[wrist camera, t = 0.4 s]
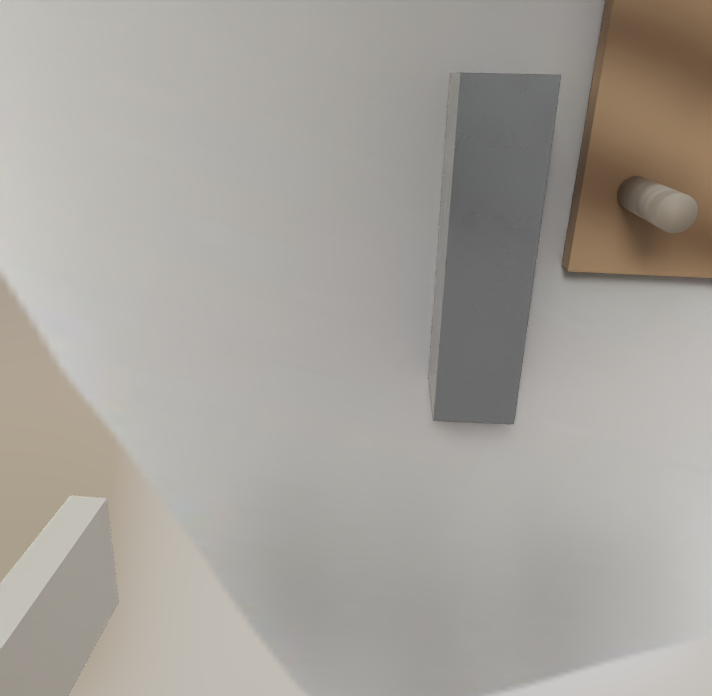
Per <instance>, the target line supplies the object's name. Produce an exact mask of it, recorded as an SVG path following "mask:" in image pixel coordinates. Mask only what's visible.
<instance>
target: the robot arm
mask: <svg viewBox="0 0 712 696" xmlns="http://www.w3.org/2000/svg"><path fill="white" fill-rule="evenodd" d="M118 602H119V599H118V590H117V581H116V573H115V564H114V556H113V547H112V539H111V531H110V521H109V513H108V504H107V499H106V498H97V497H84V496H69V498H68V499H67V500H66V501H65V503H64V504H63V505H62V506H61V508H60V509H59V510H58V511H57V513H56V514H55V515H54V516H53V518H52V519H51V520H50V521H49V523H48V524H47V525H46V526H45V528H44V529H43V530H42V531H41V533H40V534H39V535H38V536H37V538H36V539H35V540H34V541H33V543H32V544H31V545H30V546H29V548H28V549H27V550H26V551H25V553H24V554H23V555H22V557H21V558H20V559H19V560H18V562H17V563H16V564H15V565H14V566H13V568H12V569H11V570H10V571H9V573H8V574H7V575H6V577H5V578H4V579H3V580H2V582H1V583H0V696H69V693H70V692H71V690H72V688H73V686H74V684H75V683H76V681H77V679H78V677H79V675H80V673H81V671H82V669H83V668H84V666H85V664H86V662H87V660H88V658H89V656H90V655H91V653H92V651H93V649H94V647H95V645H96V643H97V641H98V640H99V638H100V636H101V634H102V632H103V630H104V629H105V627H106V625H107V623H108V621H109V619H110V617H111V615H112V614H113V612H114V610H115V608H116V606H117V604H118Z"/></svg>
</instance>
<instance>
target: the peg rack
mask: <svg viewBox="0 0 712 696" xmlns="http://www.w3.org/2000/svg"><path fill="white" fill-rule="evenodd" d="M562 266H563V267H564V268H565V269H566V270H567V271H568V272H590V273H612V274H634V275H655V276H677V277H699V278H712V0H606V1H605V7H604V13H603V19H602V25H601V31H600V37H599V43H598V49H597V55H596V61H595V67H594V73H593V79H592V86H591V92H590V98H589V104H588V110H587V116H586V122H585V128H584V134H583V140H582V146H581V152H580V158H579V164H578V170H577V177H576V183H575V189H574V195H573V201H572V207H571V213H570V219H569V225H568V231H567V237H566V243H565V249H564V255H563V261H562Z"/></svg>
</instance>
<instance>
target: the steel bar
mask: <svg viewBox="0 0 712 696" xmlns="http://www.w3.org/2000/svg"><path fill="white" fill-rule="evenodd" d="M560 79H561V75H544V74H496V73H450V78H449V92H448V106H447V120H446V134H445V148H444V162H443V176H442V190H441V204H440V219H439V233H438V247H437V261H436V275H435V289H434V303H433V317H432V331H431V345H430V359H429V373H428V380H429V389H430V397H431V405H432V413H433V421H448V422H471V423H495V424H514V420H515V413H516V405H517V398H518V391H519V383H520V376H521V368H522V361H523V354H524V346H525V339H526V331H527V324H528V316H529V309H530V302H531V294H532V287H533V279H534V272H535V265H536V257H537V250H538V242H539V235H540V227H541V220H542V213H543V205H544V198H545V190H546V183H547V176H548V168H549V161H550V153H551V146H552V139H553V131H554V124H555V116H556V109H557V101H558V94H559V87H560Z"/></svg>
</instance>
